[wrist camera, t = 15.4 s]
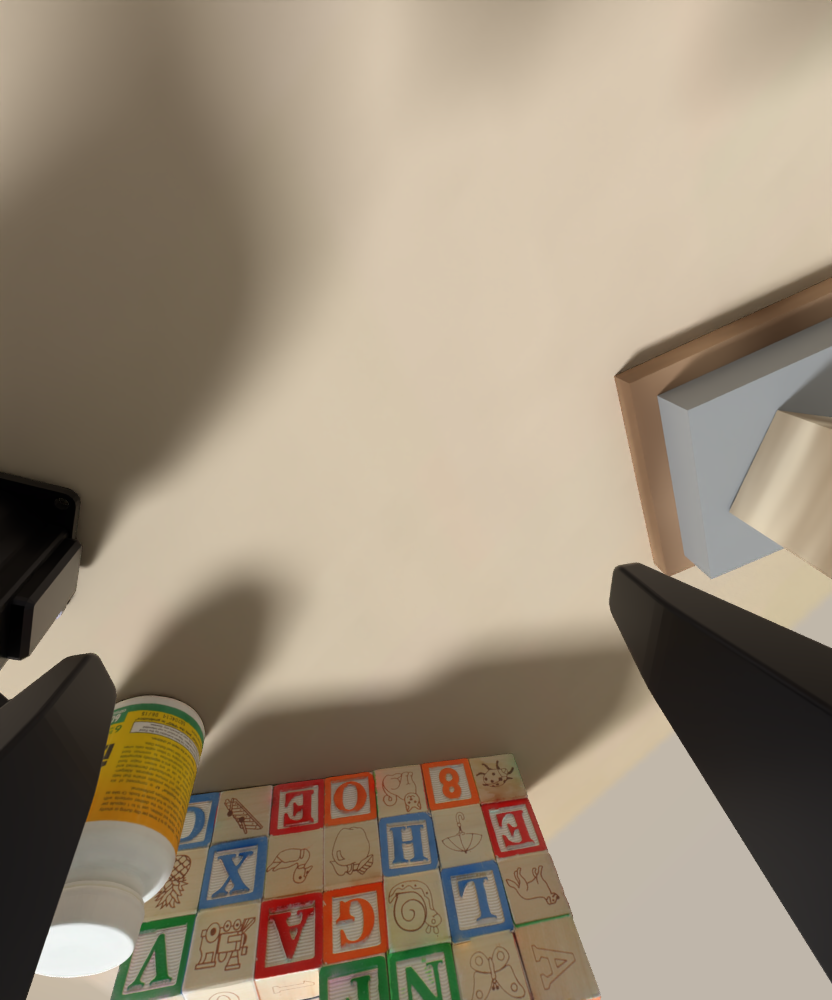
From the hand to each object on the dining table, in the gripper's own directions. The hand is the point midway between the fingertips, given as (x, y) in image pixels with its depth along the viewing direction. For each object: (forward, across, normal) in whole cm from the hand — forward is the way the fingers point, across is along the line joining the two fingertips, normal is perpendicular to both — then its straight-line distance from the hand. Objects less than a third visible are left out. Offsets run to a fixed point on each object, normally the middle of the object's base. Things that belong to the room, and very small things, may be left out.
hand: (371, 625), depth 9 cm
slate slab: (+12, -18, +4) cm, 22 cm away
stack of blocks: (+13, +4, +26) cm, 30 cm away
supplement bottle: (+13, +13, +16) cm, 24 cm away
